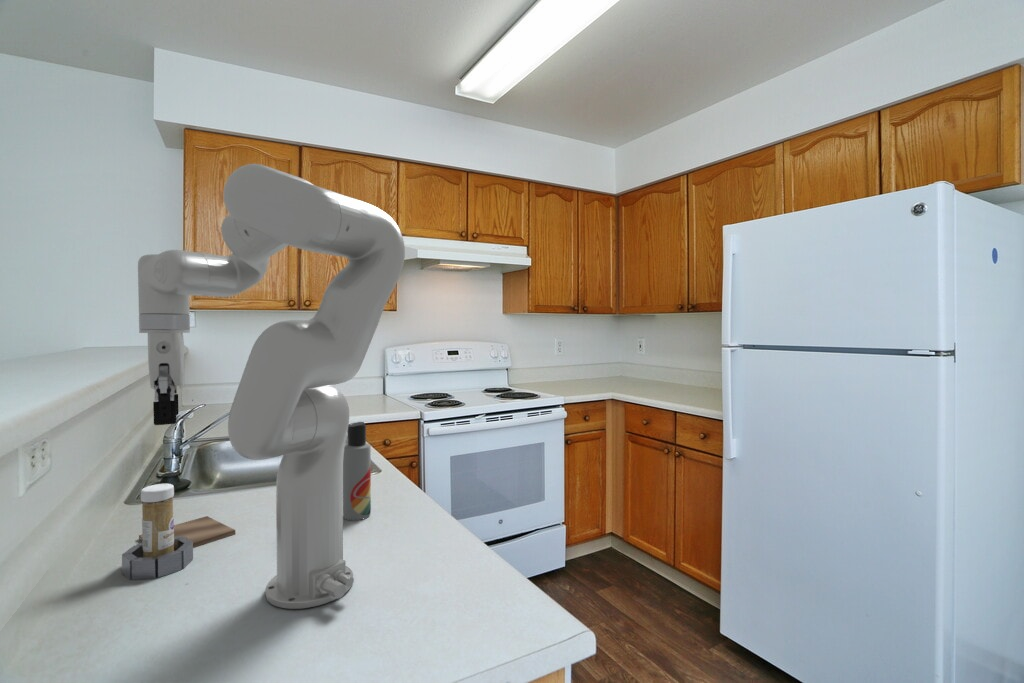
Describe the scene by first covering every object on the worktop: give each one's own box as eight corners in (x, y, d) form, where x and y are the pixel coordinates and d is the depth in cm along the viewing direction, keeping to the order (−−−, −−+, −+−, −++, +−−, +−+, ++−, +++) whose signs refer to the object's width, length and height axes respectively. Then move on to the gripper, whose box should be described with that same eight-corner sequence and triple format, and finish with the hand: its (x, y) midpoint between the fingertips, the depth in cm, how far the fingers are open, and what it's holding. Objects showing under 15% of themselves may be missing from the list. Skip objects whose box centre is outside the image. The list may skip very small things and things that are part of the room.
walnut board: (235, 534, 99) (235, 529, 99) (165, 556, 89) (164, 552, 89) (207, 519, 106) (206, 516, 106) (138, 539, 96) (138, 535, 96)
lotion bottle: (374, 517, 108) (374, 423, 107) (347, 523, 104) (347, 426, 104) (365, 509, 112) (365, 419, 112) (339, 514, 109) (339, 422, 109)
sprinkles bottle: (174, 567, 85) (173, 488, 84) (141, 575, 82) (139, 492, 82) (175, 557, 89) (173, 480, 88) (142, 563, 86) (141, 485, 86)
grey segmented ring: (200, 563, 87) (200, 545, 86) (136, 585, 79) (136, 566, 79) (177, 548, 92) (177, 532, 92) (115, 568, 85) (115, 550, 84)
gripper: (188, 324, 86) (190, 425, 86) (190, 325, 100) (192, 411, 101) (133, 324, 82) (135, 430, 82) (143, 325, 96) (145, 414, 97)
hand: (166, 419), depth 91 cm, fingers open, 9 cm apart
